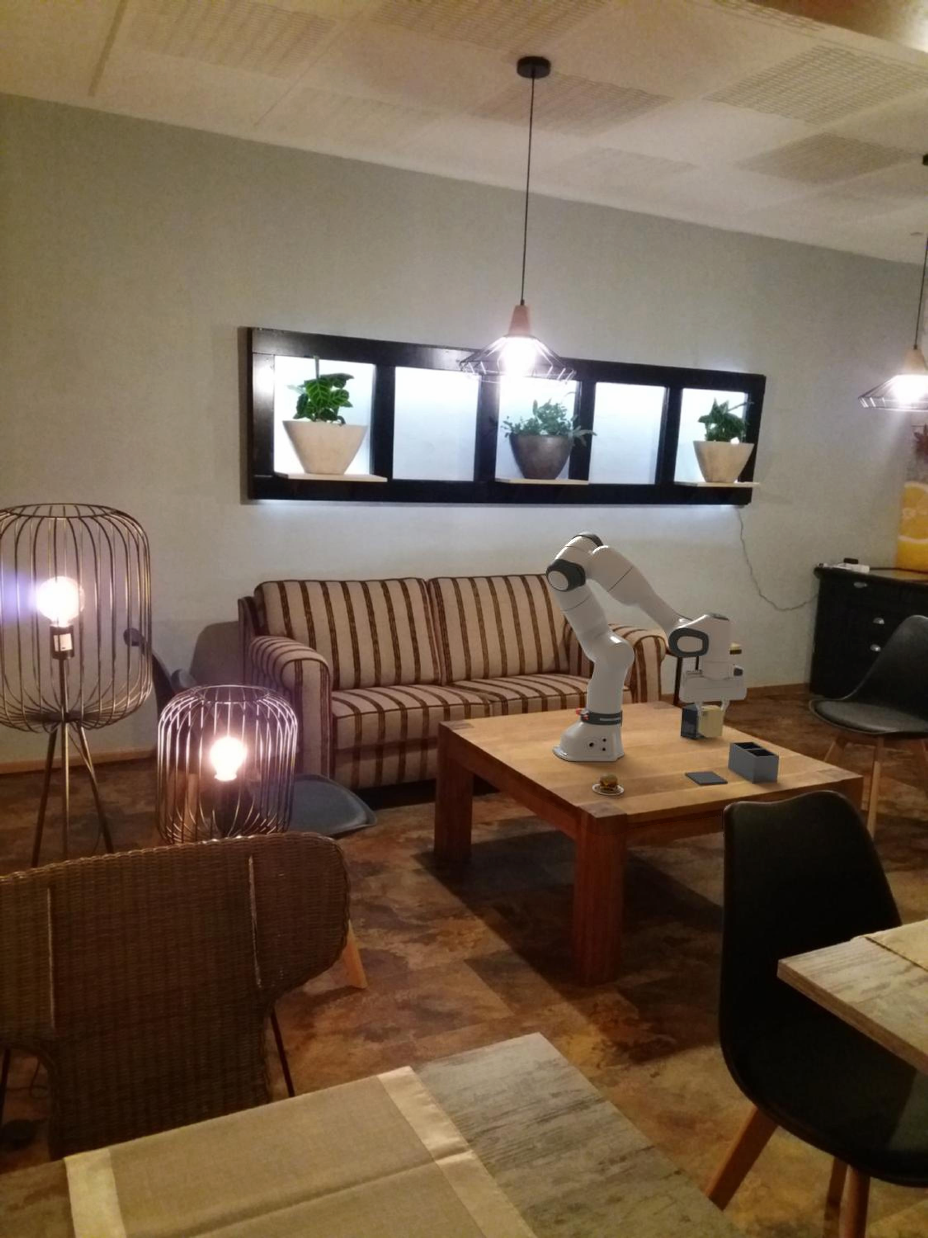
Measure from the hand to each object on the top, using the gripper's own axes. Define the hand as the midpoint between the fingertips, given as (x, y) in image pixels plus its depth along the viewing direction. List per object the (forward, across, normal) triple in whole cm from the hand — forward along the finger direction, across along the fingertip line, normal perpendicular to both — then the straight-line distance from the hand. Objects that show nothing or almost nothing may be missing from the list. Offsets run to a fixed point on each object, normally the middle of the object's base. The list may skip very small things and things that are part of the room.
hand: (711, 715), depth 277 cm
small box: (+20, +18, +41) cm, 49 cm away
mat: (+20, 0, 0) cm, 20 cm away
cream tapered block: (+6, 0, 0) cm, 6 cm away
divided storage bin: (+20, +16, +1) cm, 25 cm away
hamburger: (+20, -33, -4) cm, 39 cm away
